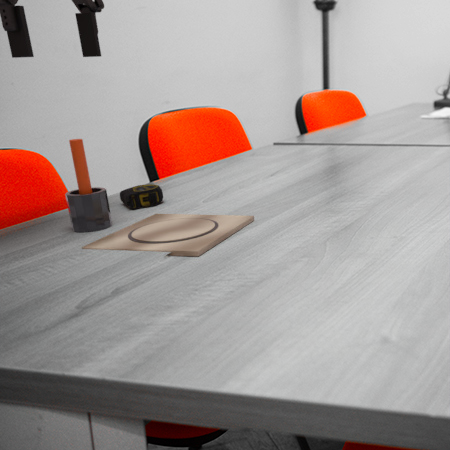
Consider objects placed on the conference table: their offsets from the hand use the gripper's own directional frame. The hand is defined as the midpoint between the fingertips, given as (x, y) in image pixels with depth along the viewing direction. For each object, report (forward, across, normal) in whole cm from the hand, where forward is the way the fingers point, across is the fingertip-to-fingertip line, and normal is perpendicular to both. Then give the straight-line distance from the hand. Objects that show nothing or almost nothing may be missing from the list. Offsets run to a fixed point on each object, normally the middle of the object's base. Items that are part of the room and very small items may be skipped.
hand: (60, 57), depth 84 cm
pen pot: (+27, 0, 0) cm, 27 cm away
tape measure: (+27, +14, +1) cm, 30 cm away
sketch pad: (+27, -1, -15) cm, 31 cm away
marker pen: (+26, 0, 0) cm, 26 cm away
